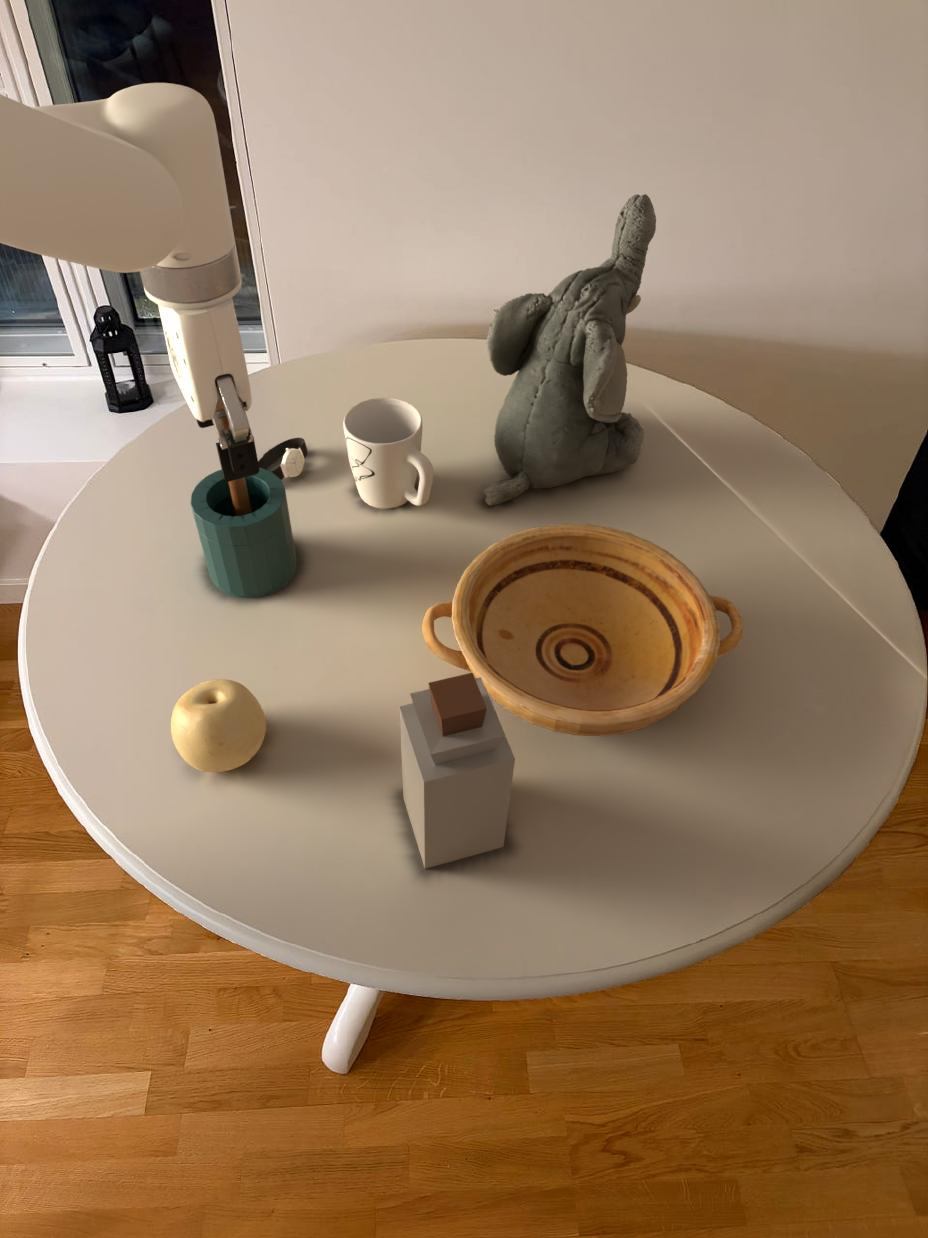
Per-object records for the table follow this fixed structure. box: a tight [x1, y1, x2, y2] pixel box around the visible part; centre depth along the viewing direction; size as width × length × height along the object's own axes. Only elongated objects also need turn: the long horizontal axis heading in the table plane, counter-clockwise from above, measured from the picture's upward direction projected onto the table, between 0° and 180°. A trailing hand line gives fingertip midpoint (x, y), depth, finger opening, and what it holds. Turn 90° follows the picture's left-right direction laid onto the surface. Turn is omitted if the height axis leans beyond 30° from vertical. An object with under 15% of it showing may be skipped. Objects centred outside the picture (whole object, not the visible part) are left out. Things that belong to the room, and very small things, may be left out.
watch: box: [258, 437, 309, 480], centre depth 104 cm, size 8×5×4 cm, turn 151°
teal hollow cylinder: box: [190, 467, 297, 599], centre depth 91 cm, size 9×9×10 cm
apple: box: [170, 678, 267, 773], centre depth 78 cm, size 8×8×8 cm
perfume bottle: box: [399, 672, 516, 870], centre depth 69 cm, size 7×7×18 cm
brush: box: [216, 402, 252, 516], centre depth 87 cm, size 4×4×20 cm
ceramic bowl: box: [421, 522, 744, 737], centre depth 84 cm, size 30×24×8 cm
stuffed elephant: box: [483, 193, 657, 506], centre depth 99 cm, size 19×21×27 cm
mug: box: [342, 396, 435, 510], centre depth 99 cm, size 11×8×10 cm
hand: (228, 447), depth 83 cm, fingers open, 7 cm apart
